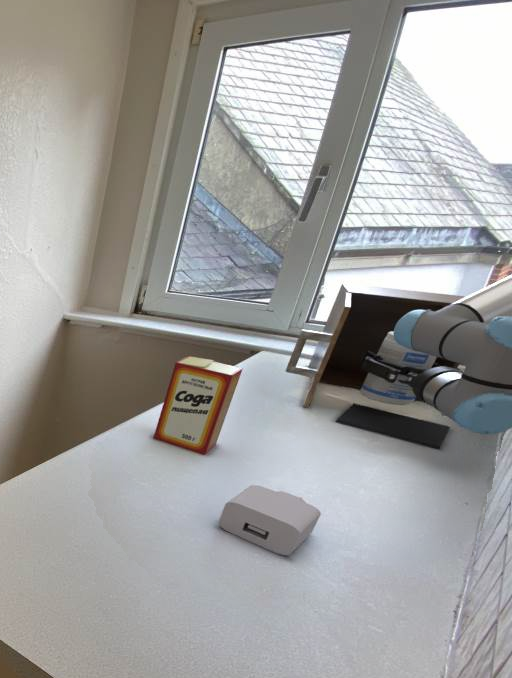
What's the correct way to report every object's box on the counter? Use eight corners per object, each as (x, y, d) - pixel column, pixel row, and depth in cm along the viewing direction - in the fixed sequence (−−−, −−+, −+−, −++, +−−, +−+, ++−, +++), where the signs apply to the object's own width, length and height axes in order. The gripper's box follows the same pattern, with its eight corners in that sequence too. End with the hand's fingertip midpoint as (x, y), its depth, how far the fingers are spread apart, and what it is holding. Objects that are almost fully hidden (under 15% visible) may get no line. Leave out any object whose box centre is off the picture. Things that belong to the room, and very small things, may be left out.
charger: (323, 523, 82) (288, 558, 74) (255, 496, 89) (216, 526, 80) (336, 496, 80) (302, 529, 72) (266, 471, 87) (227, 499, 78)
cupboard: (438, 404, 134) (489, 307, 124) (311, 381, 147) (348, 291, 137) (423, 385, 148) (468, 296, 138) (308, 366, 160) (342, 283, 150)
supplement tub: (389, 407, 121) (421, 342, 114) (348, 392, 129) (375, 330, 122) (423, 406, 122) (457, 341, 116) (380, 391, 131) (409, 330, 124)
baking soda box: (215, 445, 107) (243, 366, 100) (204, 454, 102) (233, 373, 95) (165, 429, 113) (188, 354, 105) (153, 438, 108) (176, 360, 101)
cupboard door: (273, 400, 132) (312, 302, 121) (283, 376, 150) (317, 289, 139) (308, 407, 128) (350, 307, 118) (314, 382, 146) (351, 293, 136)
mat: (439, 449, 109) (440, 446, 109) (335, 421, 121) (336, 419, 120) (448, 429, 120) (450, 426, 119) (352, 405, 131) (353, 403, 131)
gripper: (369, 398, 112) (328, 368, 131) (508, 417, 105) (443, 382, 124) (386, 363, 108) (342, 337, 127) (530, 380, 102) (461, 350, 121)
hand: (392, 359), depth 126 cm, fingers closed on supplement tub, 9 cm apart
